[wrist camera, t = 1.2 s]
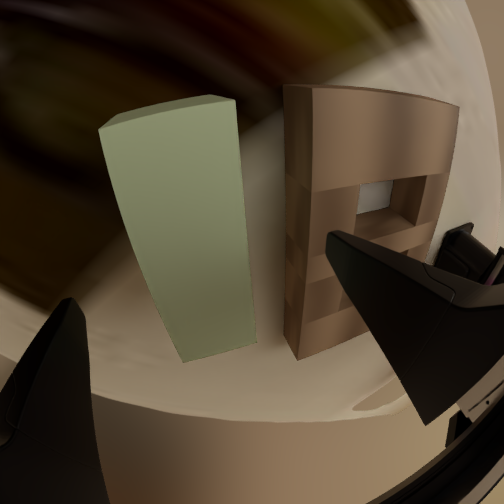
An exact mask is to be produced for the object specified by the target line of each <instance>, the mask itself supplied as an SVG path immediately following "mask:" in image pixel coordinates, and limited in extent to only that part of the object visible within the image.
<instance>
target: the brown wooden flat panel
mask: <svg viewBox="0 0 504 504" xmlns="http://www.w3.org/2000/svg"><path fill="white" fill-rule="evenodd" d="M283 106H284V134H285V181H286V264H285V311H284V336H285V338H286V340H287V342H288V344H289V346H290V348H291V350H292V352H293V353H294V355H295V357H296V359H297V361H298V360H301V359H303V358H306V357H309V356H311V355H314V354H316V353H319V352H321V351H324V350H326V349H329V348H331V347H333V346H336V345H338V344H340V343H343V342H345V341H347V340H350V339H352V338H354V337H356V336H359V335H361V334H363V333H365V332H367V331H369V328H368V327H367V325H366V324H365V322H364V321H363V319H362V317H361V316H360V314H359V313H358V311H357V310H356V308H355V307H354V305H353V303H352V302H351V300H350V299H349V297H348V296H347V294H346V293H345V291H344V289H343V288H342V286H341V284H340V282H339V280H338V278H337V276H336V274H335V273H334V271H333V269H332V267H331V265H330V263H329V261H328V259H327V257H326V255H325V246H326V237H327V233H328V232H330V231H334V230H341V231H344V232H346V233H349V234H352V235H354V236H357V237H360V238H363V239H365V240H368V241H371V242H373V243H376V244H378V245H381V246H384V247H386V248H389V249H391V250H394V251H396V252H399V253H401V254H404V255H406V256H409V257H411V258H414V259H416V260H419V261H421V263H422V262H424V261H425V258H426V255H427V253H428V250H429V247H430V244H431V241H432V238H433V235H434V231H435V228H436V225H437V222H438V218H439V215H440V211H441V207H442V204H443V200H444V196H445V192H446V187H447V183H448V179H449V174H450V169H451V164H452V159H453V153H454V147H455V141H456V134H457V126H458V117H459V107H458V106H455V105H452V104H449V103H446V102H443V101H439V100H436V99H433V98H429V97H425V96H420V95H414V94H409V93H403V92H396V91H390V90H382V89H374V88H364V87H353V86H339V85H310V84H294V85H283ZM393 179H394V184H393V190H392V196H391V201H390V206H389V207H388V208H384V209H379V210H375V211H370V212H366V213H362V214H357V215H356V213H357V206H358V199H359V191H360V184H366V183H373V182H379V181H386V180H393Z"/></svg>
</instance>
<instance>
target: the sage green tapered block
mask: <svg viewBox="0 0 504 504" xmlns="http://www.w3.org/2000/svg"><path fill="white" fill-rule="evenodd" d="M98 130H99V135H100V139H101V144H102V148H103V152H104V156H105V160H106V164H107V168H108V172H109V175H110V179H111V182H112V186H113V189H114V193H115V196H116V199H117V203H118V206H119V209H120V212H121V215H122V218H123V221H124V224H125V227H126V230H127V233H128V236H129V239H130V242H131V245H132V247H133V250H134V253H135V255H136V258H137V261H138V263H139V266H140V269H141V271H142V274H143V276H144V279H145V281H146V284H147V286H148V288H149V291H150V293H151V296H152V298H153V300H154V303H155V305H156V307H157V309H158V312H159V314H160V316H161V318H162V320H163V323H164V325H165V327H166V329H167V331H168V333H169V335H170V337H171V340H172V342H173V344H174V346H175V348H176V350H177V352H178V354H179V356H180V358H181V360H182V362H183V363H185V362H189V361H193V360H197V359H201V358H205V357H208V356H212V355H216V354H219V353H223V352H227V351H230V350H234V349H237V348H240V347H244V346H247V345H250V344H254V343H257V337H256V327H255V316H254V305H253V295H252V284H251V273H250V262H249V251H248V240H247V229H246V218H245V207H244V196H243V184H242V173H241V162H240V150H239V139H238V127H237V116H236V104H235V100H232V99H228V98H223V97H219V96H214V95H204V96H198V97H192V98H186V99H181V100H175V101H170V102H165V103H161V104H156V105H152V106H148V107H144V108H140V109H136V110H132V111H128V112H124V113H121V114H117V115H116V116H115V117H113V118H112V119H111V120H109V121H108V122H107V123H106V124H105V125H103V126H102V127H101V128H100V129H98Z"/></svg>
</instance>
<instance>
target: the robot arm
mask: <svg viewBox="0 0 504 504" xmlns="http://www.w3.org/2000/svg"><path fill="white" fill-rule="evenodd" d="M473 227H474V224H473V223H468V224H466V225H463V226H461V227H458V228H456V229H453V230H451V231H449V232H448V233H447V234H446V237H445V240H444V243H443V245H442V248H441V251H440V254H439V256H438V259H437V262H436V264H435V267H433V266H431V265H428V264H426V263H424V262H422V263H421V261H419V260H416V259H414V258H411V257H409V256H406V255H404V254H401V253H399V252H396V251H394V250H391V249H389V248H386V247H384V246H381V245H378V244H376V243H373V242H371V241H368V240H365V239H363V238H360V237H357V236H354V235H352V234H349V233H346V232H344V231H341V230H334V231H330V232H328V233H327V237H326V246H325V255H326V257H327V259H328V261H329V263H330V265H331V267H332V269H333V271H334V273H335V274H336V276H337V278H338V280H339V282H340V284H341V286H342V288H343V289H344V291H345V293H346V294H347V296H348V297H349V299H350V300H351V302H352V303H353V305H354V307H355V308H356V310H357V311H358V313H359V314H360V316H361V317H362V319H363V321H364V322H365V324H366V325H367V327H368V328H369V330H370V332H371V333H372V335H373V336H374V338H375V340H376V341H377V343H378V345H379V346H380V348H381V349H382V351H383V353H384V354H385V356H386V358H387V359H388V361H389V363H390V364H391V366H392V368H393V370H394V371H395V373H396V375H397V376H398V378H399V380H401V383H402V385H403V387H404V389H405V391H406V392H407V394H408V396H409V398H410V399H411V401H412V403H413V405H414V407H415V408H416V410H417V412H418V414H419V416H420V418H421V419H422V421H423V423H424V425H425V426H426V425H428V424H429V423H431V422H432V421H433V420H435V419H436V418H437V417H438V416H440V415H441V414H442V413H443V412H445V411H446V410H447V409H448V408H450V407H451V406H452V405H453V404H454V403H457V405H458V406H459V407H460V410H459V411H458V412H457V413H455V414H454V415H453V416H452V417H451V418H450V420H449V427H448V433H447V439H446V444H445V447H446V449H445V450H443V451H442V452H441V453H440V454H439V455H437V456H436V457H435V458H434V459H432V460H431V461H430V462H429V463H427V464H426V465H425V466H423V467H422V468H421V469H419V470H418V471H417V472H415V473H414V474H413V475H412V476H410V477H408V478H407V479H405V480H404V481H403V482H401V483H400V484H398V485H396V486H395V487H393V488H392V489H390V490H389V491H387V492H385V493H384V494H382V495H381V496H379V497H377V498H375V499H374V500H372V501H370V502H368V503H366V504H479V503H480V502H481V501H482V500H483V499H484V498H485V497H486V496H487V495H488V494H489V493H490V491H492V490H493V488H494V487H495V486H496V485H497V484H498V483H499V481H500V480H501V479H502V478H503V477H504V248H502V247H500V248H499V249H498V253H497V254H496V255H495V254H493V253H492V252H491V251H490V250H489V249H488V248H486V247H485V246H484V245H483V244H482V243H480V242H479V241H478V240H477V239H475V238H474V237H473V236H472V235H471V232H472V230H473ZM0 504H110V501H109V498H108V494H107V490H106V486H105V482H104V477H103V473H102V469H101V464H100V459H99V454H98V448H97V442H96V435H95V429H94V420H93V411H92V400H91V386H90V363H89V350H88V341H87V330H86V319H85V315H84V313H83V311H82V310H81V308H80V307H79V305H78V304H77V302H76V300H75V299H74V298H72V297H70V298H66V299H63V300H62V301H61V302H60V303H59V305H58V306H57V307H56V309H55V310H54V311H53V313H52V314H51V315H50V317H49V318H48V319H47V321H46V322H45V323H44V325H43V326H42V328H41V329H40V330H39V332H38V333H37V335H36V336H35V338H34V339H33V341H32V342H31V344H30V345H29V347H28V348H27V350H26V351H25V353H24V354H23V356H22V357H21V359H20V360H19V362H18V364H17V365H16V367H15V368H14V370H13V373H11V375H10V377H9V378H8V380H7V382H6V384H5V385H4V387H3V389H2V390H1V392H0Z"/></svg>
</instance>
